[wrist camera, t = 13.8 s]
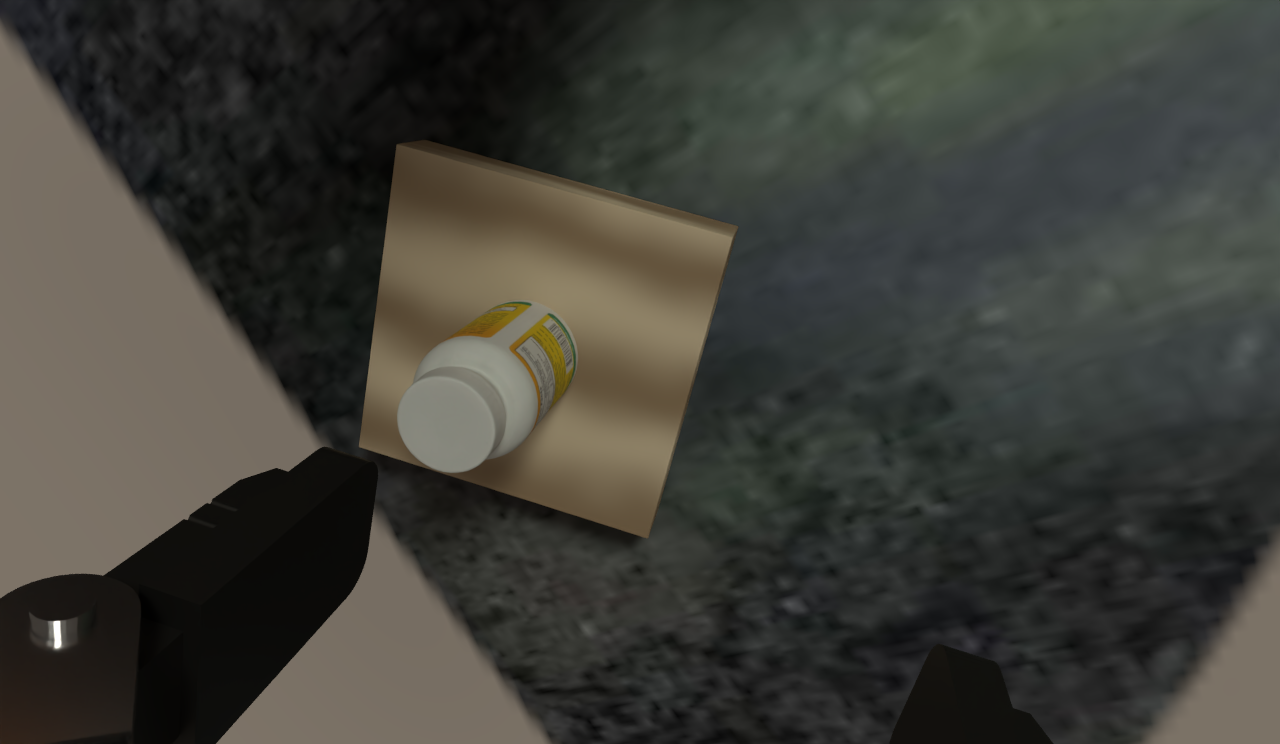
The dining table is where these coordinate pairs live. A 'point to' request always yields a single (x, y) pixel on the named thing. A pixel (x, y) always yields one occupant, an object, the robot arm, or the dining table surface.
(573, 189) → the birch plinth
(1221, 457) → the dining table surface
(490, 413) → the supplement bottle
